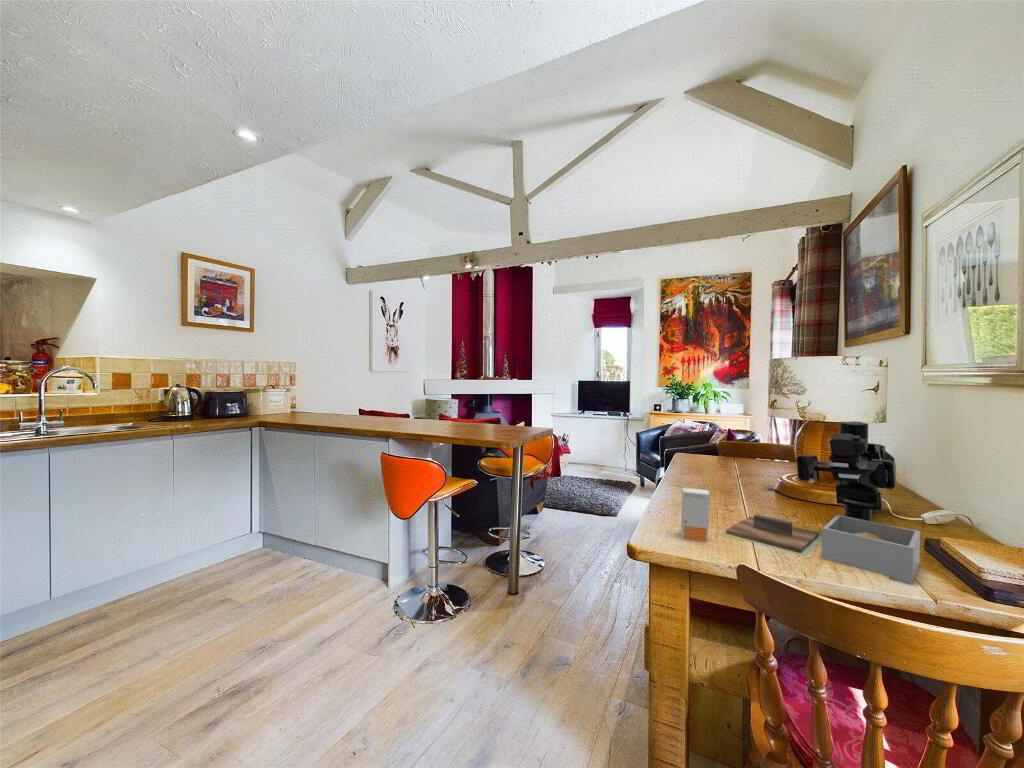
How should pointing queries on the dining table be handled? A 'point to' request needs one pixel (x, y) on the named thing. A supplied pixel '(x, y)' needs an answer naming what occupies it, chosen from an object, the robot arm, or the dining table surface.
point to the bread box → (872, 547)
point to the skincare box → (695, 514)
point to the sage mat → (781, 548)
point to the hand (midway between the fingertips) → (834, 478)
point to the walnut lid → (774, 533)
